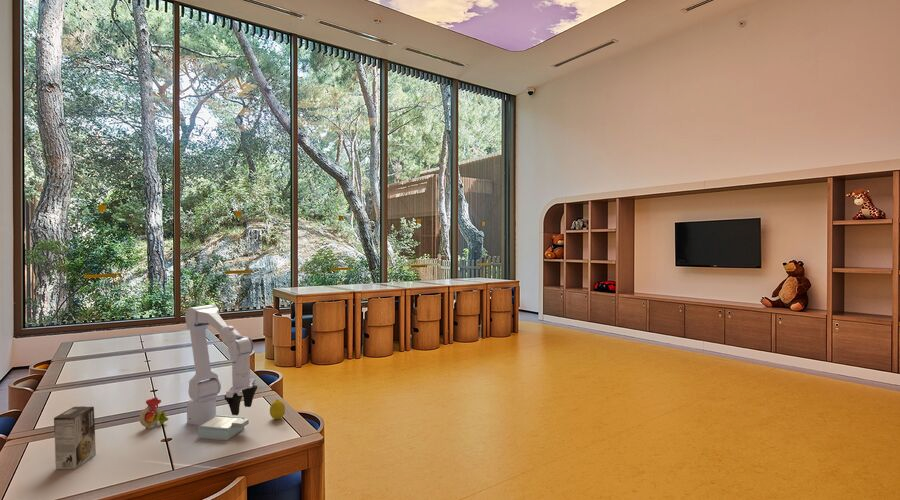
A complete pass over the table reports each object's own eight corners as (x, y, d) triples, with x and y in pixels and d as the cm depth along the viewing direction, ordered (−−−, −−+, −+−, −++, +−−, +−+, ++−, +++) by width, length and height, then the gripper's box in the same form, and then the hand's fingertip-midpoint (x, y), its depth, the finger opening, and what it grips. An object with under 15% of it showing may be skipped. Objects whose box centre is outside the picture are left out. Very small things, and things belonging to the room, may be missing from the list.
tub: (198, 439, 165) (198, 426, 165) (216, 427, 175) (216, 415, 175) (227, 441, 164) (227, 428, 163) (244, 429, 173) (244, 417, 173)
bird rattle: (154, 435, 173) (174, 417, 180) (141, 412, 168) (162, 394, 176) (142, 432, 175) (162, 415, 182) (129, 410, 170) (150, 392, 178)
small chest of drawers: (200, 427, 166) (200, 423, 166) (216, 418, 174) (216, 414, 174) (238, 430, 164) (238, 426, 164) (252, 421, 172) (252, 416, 172)
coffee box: (75, 455, 153) (73, 406, 152) (96, 454, 154) (95, 405, 153) (54, 469, 144) (52, 417, 143) (76, 469, 144) (75, 416, 144)
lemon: (280, 423, 179) (279, 402, 179) (266, 422, 180) (266, 401, 180) (287, 417, 184) (287, 397, 184) (274, 416, 185) (274, 396, 185)
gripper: (239, 379, 159) (240, 419, 160) (262, 367, 174) (263, 403, 174) (220, 378, 160) (220, 418, 161) (245, 366, 175) (245, 402, 175)
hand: (241, 410), depth 168 cm, fingers open, 7 cm apart
